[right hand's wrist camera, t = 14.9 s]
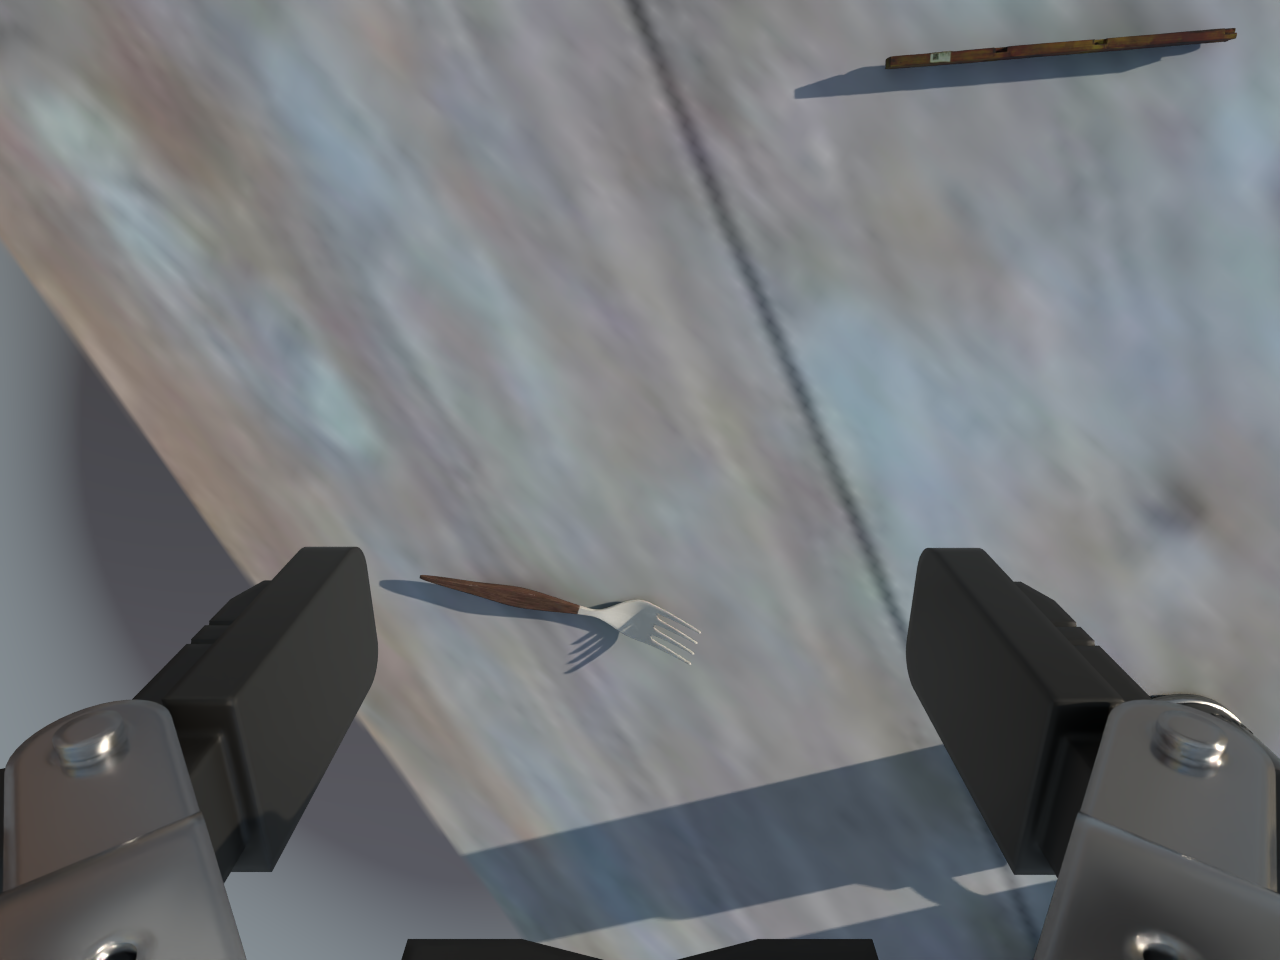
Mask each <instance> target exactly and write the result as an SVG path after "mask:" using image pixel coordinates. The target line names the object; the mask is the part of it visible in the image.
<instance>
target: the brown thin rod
mask: <svg viewBox="0 0 1280 960" xmlns="http://www.w3.org/2000/svg"><path fill="white" fill-rule="evenodd" d="M1236 36H1237V33H1235V28H1229V29H1225V28H1224V29H1211V30H1201V31H1187V32H1176V33H1165V34H1154V35H1141V36H1129V37H1118V38H1108V39H1101V40H1095V39H1094V40H1082V41H1069V42H1055V43H1042V44H1032V45H1019V46H1009V47H1002V48H985V49H974V50H963V51H945V52H935V53H928V54H916V55H903V56H892V57H889V58H887V59H886V67H885V69H897V68H909V67H923V66H936V65H948V64H961V63H974V62H985V61H997V60H1009V59H1019V58H1030V57H1042V56H1056V55H1069V54H1081V53H1093V52H1105V51H1118V50H1130V49H1141V48H1152V47H1165V46H1177V45H1188V44H1201V43H1214V42H1226V41H1228V40H1231V39H1235V38H1236Z"/></svg>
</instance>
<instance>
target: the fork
mask: <svg viewBox="0 0 1280 960" xmlns="http://www.w3.org/2000/svg"><path fill="white" fill-rule="evenodd" d="M420 578H421V579H423V580H425V581H428V582H431V583H435V584H438V585H441V586H445V587H448V588H451V589H455V590H459V591H462V592H466V593H469V594H473V595H476V596H479V597H482V598H486V599H489V600H492V601H496V602H499V603H502V604H506V605H510V606H514V607H519V608H525V609H533V610H542V611H551V612H561V613H571V614H581V615H588V616H593V617H596V618H599V619H601V620H603V621H604V622H606V623H608V624H609V625H611V626H612V627H613V628H615V629H616V630H618V631H620V632H621V633H623V634H625V635H627V636H629V637H631V638H633V639H636V640H638V641H641V642H644V643H647V644H649V645H651V646H654V647H656V648H658V649H660V650H662V651H664V652H666V653H668V654H670V655H672V656H674V657H676V658H678V659H680V660H682V661H684V662H685V663H687V664H688V665H691V663H690V662H689V661H687V660H685V659H684V658H682V657H681V656H679V655H678V654H676V653H675V652H673V651H671V650H670V649H668V648H666V647H665V646H663V645H661V644H660V643H658V642H656V641H655V640H653V639H652V638H651V635H654V636H657V637H659V638H661V639H663V640H666V641H668V642H670V643H672V644H674V645H676V646H678V647H680V648H682V649H684V650H685V651H687V652H689V653H691V654H694V652H692V651H691V650H689V649H688V648H686V647H684V646H683V645H681V644H680V643H678V642H676V641H675V640H673V639H672V638H670V637H668V636H667V635H665V634H663V633H661V632H660V631H658V630H657V629H655V628H654V625H658V626H660V627H663V628H665V629H667V630H669V631H671V632H673V633H675V634H678V635H680V636H682V637H684V638H686V639H688V640H689V641H691V642H693V643H695V644H697V642H696V641H695V640H693V639H691V638H690V637H688V636H687V635H685V634H683V633H682V632H680V631H679V630H677V629H675V628H674V627H672V626H670V625H668V624H667V623H665V622H663V621H662V620H660V619H659V618H658V617H657V615H662V616H665V617H667V618H669V619H671V620H673V621H675V622H678V623H680V624H682V625H684V626H686V627H688V628H690V629H692V630H694V631H696V632H697V633H699V634H700V633H701V632H700V631H699V630H697V629H696V628H694V627H692V626H691V625H689V624H688V623H686V622H684V621H683V620H681V619H679V618H678V617H676V616H674V615H672V614H671V613H669V612H667V611H665V610H663V609H661V608H660V607H658V606H656V605H654V604H652V603H650V602H647V601H644V600H629V601H625V602H622V603H619V604H616V605H613V606H611V607H608V608H604V609H590V608H586V607H583V606H580V605H577V604H573V603H570V602H567V601H564V600H561V599H558V598H555V597H552V596H549V595H546V594H543V593H540V592H537V591H533V590H529V589H525V588H521V587H515V586H508V585H499V584H490V583H481V582H473V581H466V580H459V579H452V578H445V577H437V576H428V575H420Z"/></svg>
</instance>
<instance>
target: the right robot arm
mask: <svg viewBox="0 0 1280 960" xmlns="http://www.w3.org/2000/svg"><path fill="white" fill-rule="evenodd" d="M377 660H378V641H377V634H376V627H375V620H374V613H373V606H372V599H371V592H370V585H369V578H368V571H367V564H366V560H365V556H364V554H363V552H362V550H361V549H360V548H358V547H304V548H302V549H301V550H299V551H298V553H297V554H296V555H295V556H294V557H293V558H292V559H291V560H290V561H289V562H288V563H287V564H286V565H285V567H284V568H283V569H282V570H281V571H280V572H279V573H278V574H277V575H276V576H275V577H274V578H273V579H272V581H262V582H260V583H259V584H257V585H255V586H253V587H252V588H250V589H248V590H246V591H244V592H243V593H241V594H239V595H237V596H236V597H234V598H232V599H231V600H229V602H228V603H227V604H226V605H225V606H224V607H223V608H222V609H221V610H220V611H219V612H218V613H217V614H216V615H215V616H214V617H213V618H212V619H211V620H210V621H209V625H205V626H204V627H203V628H202V629H201V630H200V631H199V632H198V633H197V634H196V635H195V636H194V637H193V638H192V639H191V644H186V645H185V646H184V647H183V648H182V649H181V650H180V651H179V652H178V654H176V655H175V656H174V657H173V658H172V659H171V660H170V661H169V662H168V664H167V665H166V666H165V667H164V668H163V669H162V670H161V671H160V672H159V673H158V674H157V675H156V676H155V677H154V678H153V679H152V680H151V681H150V682H149V683H148V684H147V685H146V686H145V687H144V688H143V689H142V690H141V691H140V692H139V693H138V694H137V695H136V696H135V697H134V698H133V699H132V700H121V701H113V702H108V703H103V704H99V705H96V706H92V707H89V708H85V709H83V710H80V711H77V712H74V713H72V714H70V715H67V716H65V717H63V718H61V719H59V720H57V721H55V722H53V723H51V724H49V725H47V726H46V727H44V728H42V729H41V730H39V731H38V732H36V733H35V734H33V735H32V736H31V737H30V738H28V739H27V740H26V741H25V742H23V743H22V744H21V745H20V746H19V747H18V748H17V749H16V750H15V752H14V753H13V754H12V756H11V757H10V758H9V760H8V762H7V764H6V768H4V769H0V960H247V959H246V956H245V953H244V949H243V946H242V943H241V939H240V936H239V933H238V929H237V926H236V923H235V919H234V916H233V913H232V909H231V906H230V903H229V900H228V896H227V893H226V890H225V886H224V882H225V881H226V879H227V877H228V876H229V874H230V872H272V871H273V869H274V867H275V865H276V863H277V861H278V859H279V858H280V856H281V854H282V852H283V850H284V848H285V846H286V844H287V843H288V841H289V839H290V837H291V835H292V833H293V831H294V830H295V828H296V826H297V824H298V822H299V820H300V818H301V816H302V815H303V813H304V811H305V809H306V807H307V805H308V803H309V801H310V799H311V798H312V796H313V794H314V792H315V790H316V788H317V786H318V785H319V783H320V781H321V779H322V777H323V775H324V773H325V771H326V770H327V768H328V766H329V764H330V762H331V760H332V758H333V757H334V755H335V753H336V751H337V749H338V747H339V745H340V743H341V742H342V740H343V738H344V736H345V734H346V732H347V730H348V729H349V727H350V725H351V723H352V721H353V719H354V717H355V715H356V714H357V712H358V710H359V708H360V706H361V704H362V702H363V700H364V699H365V697H366V695H367V693H368V691H369V689H370V687H371V685H372V683H373V680H374V677H375V673H376V668H377ZM906 661H907V669H908V674H909V678H910V681H911V684H912V686H913V689H914V690H915V692H916V694H917V696H918V698H919V700H920V702H921V703H922V705H923V707H924V709H925V711H926V713H927V714H928V716H929V718H930V720H931V722H932V724H933V726H934V727H935V729H936V731H937V733H938V735H939V737H940V739H941V740H942V742H943V744H944V746H945V748H946V750H947V751H948V753H949V755H950V757H951V759H952V761H953V763H954V764H955V766H956V768H957V770H958V772H959V774H960V775H961V777H962V779H963V781H964V783H965V785H966V787H967V788H968V790H969V792H970V794H971V796H972V798H973V800H974V801H975V803H976V805H977V807H978V809H979V811H980V812H981V814H982V816H983V818H984V820H985V822H986V824H987V825H988V827H989V829H990V831H991V833H992V835H993V836H994V838H995V840H996V842H997V844H998V846H999V848H1000V849H1001V851H1002V853H1003V855H1004V857H1005V859H1006V860H1007V862H1008V864H1009V866H1010V868H1011V870H1012V872H1013V873H1014V875H1056V876H1057V878H1058V880H1057V883H1056V886H1055V890H1054V893H1053V896H1052V900H1051V903H1050V906H1049V909H1048V913H1047V916H1046V919H1045V923H1044V926H1043V929H1042V933H1041V936H1040V939H1039V943H1038V946H1037V949H1036V953H1035V956H1034V959H1033V960H1280V759H1279V758H1278V757H1277V756H1276V755H1275V754H1274V753H1273V752H1272V751H1271V750H1270V749H1268V748H1267V747H1266V746H1265V745H1264V744H1263V743H1262V742H1261V741H1260V740H1258V739H1257V738H1256V737H1255V736H1254V735H1253V733H1252V732H1251V731H1250V730H1249V729H1247V728H1246V727H1245V726H1244V725H1243V724H1242V723H1241V722H1240V721H1239V720H1238V718H1236V717H1235V716H1234V715H1233V714H1232V713H1231V712H1230V711H1229V710H1228V709H1226V708H1225V707H1224V706H1223V705H1221V704H1220V703H1218V702H1216V701H1214V700H1212V699H1209V698H1206V697H1203V696H1198V695H1191V694H1173V695H1166V696H1161V697H1156V698H1153V699H1152V698H1151V697H1150V696H1149V695H1148V694H1147V693H1146V692H1145V691H1144V690H1143V689H1142V688H1141V687H1140V686H1139V685H1138V684H1137V683H1136V682H1135V681H1134V680H1133V679H1132V678H1131V677H1130V676H1129V675H1128V674H1127V673H1126V672H1125V671H1124V670H1123V669H1122V668H1121V667H1120V666H1119V665H1118V664H1117V663H1116V662H1115V661H1114V660H1113V659H1112V658H1111V657H1110V656H1109V655H1108V654H1107V653H1106V652H1105V651H1104V650H1103V649H1102V648H1101V647H1100V646H1095V644H1094V640H1093V639H1092V638H1091V637H1090V636H1089V635H1088V634H1087V633H1086V632H1085V631H1084V630H1083V629H1082V628H1081V627H1076V622H1075V621H1074V620H1073V619H1072V618H1071V617H1070V616H1069V615H1068V614H1067V613H1066V612H1065V611H1064V610H1063V609H1062V608H1061V607H1060V606H1059V605H1058V604H1057V603H1056V602H1055V601H1054V600H1052V599H1051V598H1049V597H1047V596H1045V595H1043V594H1042V593H1040V592H1038V591H1036V590H1035V589H1033V588H1031V587H1029V586H1027V585H1026V584H1024V583H1022V582H1013V581H1012V580H1011V579H1010V577H1009V576H1008V575H1007V574H1006V573H1005V572H1004V571H1003V570H1002V569H1001V568H1000V567H999V566H998V565H997V564H996V563H995V561H994V560H993V559H992V558H991V557H990V556H989V555H988V554H987V553H986V552H985V551H984V550H983V549H981V548H926V549H925V550H924V551H923V552H922V554H921V556H920V558H919V562H918V567H917V573H916V580H915V587H914V594H913V601H912V608H911V614H910V621H909V628H908V635H907V643H906ZM402 960H602V959H598V958H594V957H590V956H586V955H582V954H578V953H574V952H570V951H566V950H563V949H559V948H555V947H551V946H547V945H543V944H539V943H535V942H531V941H527V940H523V939H408V940H407V944H406V947H405V950H404V953H403V956H402ZM678 960H878V957H877V953H876V950H875V947H874V943H873V940H872V939H757V940H753V941H749V942H745V943H741V944H737V945H733V946H729V947H725V948H721V949H717V950H714V951H710V952H706V953H702V954H698V955H694V956H690V957H686V958H682V959H678Z"/></svg>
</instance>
